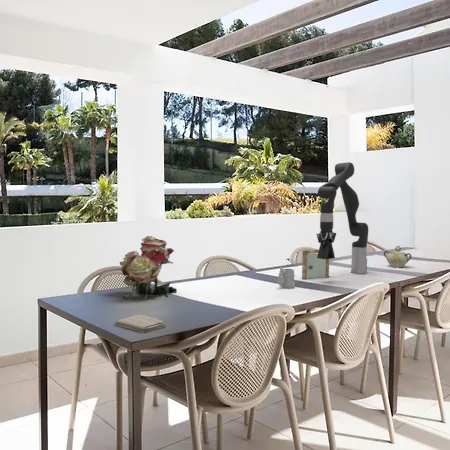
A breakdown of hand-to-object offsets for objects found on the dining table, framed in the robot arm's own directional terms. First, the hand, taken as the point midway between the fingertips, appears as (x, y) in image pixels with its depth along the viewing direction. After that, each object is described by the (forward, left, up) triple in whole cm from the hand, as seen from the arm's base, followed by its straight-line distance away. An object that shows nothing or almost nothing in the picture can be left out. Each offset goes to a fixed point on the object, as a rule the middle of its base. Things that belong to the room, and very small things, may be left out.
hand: (326, 250), depth 291 cm
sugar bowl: (-89, -22, -19) cm, 94 cm away
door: (-5, -13, -19) cm, 23 cm away
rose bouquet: (+106, -15, -19) cm, 109 cm away
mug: (+31, +2, -19) cm, 37 cm away
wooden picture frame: (-5, -14, -19) cm, 24 cm away
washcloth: (+130, +37, -20) cm, 137 cm away
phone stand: (0, 0, -5) cm, 5 cm away
